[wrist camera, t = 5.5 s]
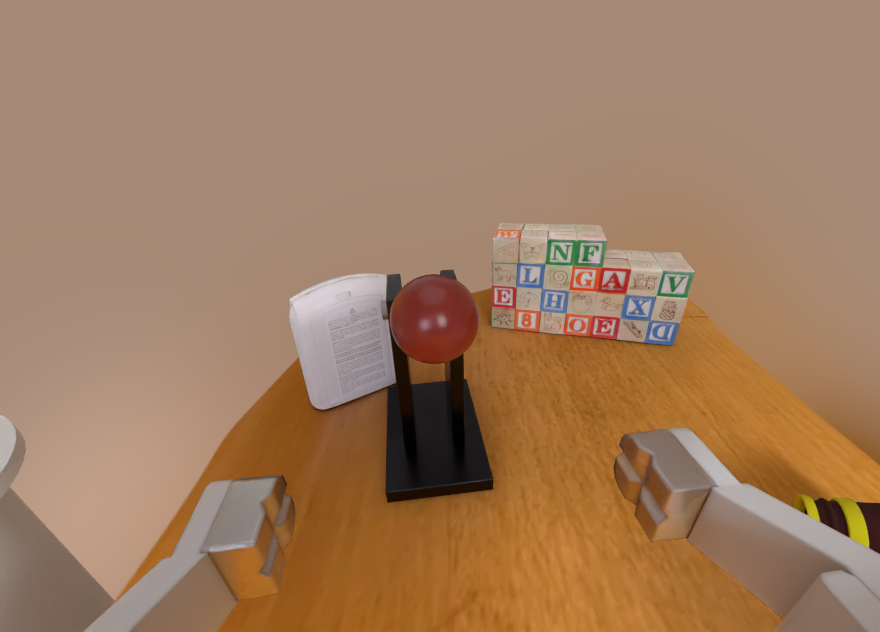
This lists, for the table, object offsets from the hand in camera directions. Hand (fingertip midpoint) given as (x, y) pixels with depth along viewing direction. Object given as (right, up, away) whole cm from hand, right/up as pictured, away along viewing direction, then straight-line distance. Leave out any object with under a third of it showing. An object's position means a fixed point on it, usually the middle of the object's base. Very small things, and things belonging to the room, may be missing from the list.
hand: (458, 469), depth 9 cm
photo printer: (-9, -4, +31) cm, 32 cm away
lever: (-1, +2, +12) cm, 12 cm away
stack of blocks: (+17, +2, +40) cm, 44 cm away
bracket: (-1, -7, +24) cm, 25 cm away
